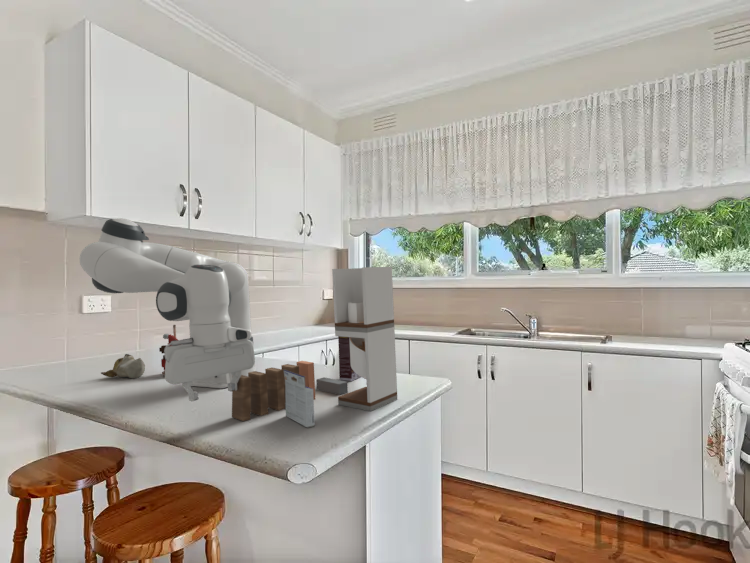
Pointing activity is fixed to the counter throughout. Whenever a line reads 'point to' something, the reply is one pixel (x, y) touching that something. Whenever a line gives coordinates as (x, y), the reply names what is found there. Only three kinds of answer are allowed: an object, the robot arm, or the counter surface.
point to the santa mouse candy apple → (170, 338)
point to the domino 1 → (242, 399)
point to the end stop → (332, 385)
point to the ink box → (299, 399)
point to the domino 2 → (258, 393)
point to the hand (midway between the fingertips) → (213, 395)
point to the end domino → (307, 374)
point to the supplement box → (345, 360)
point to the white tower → (367, 332)
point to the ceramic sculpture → (127, 367)
